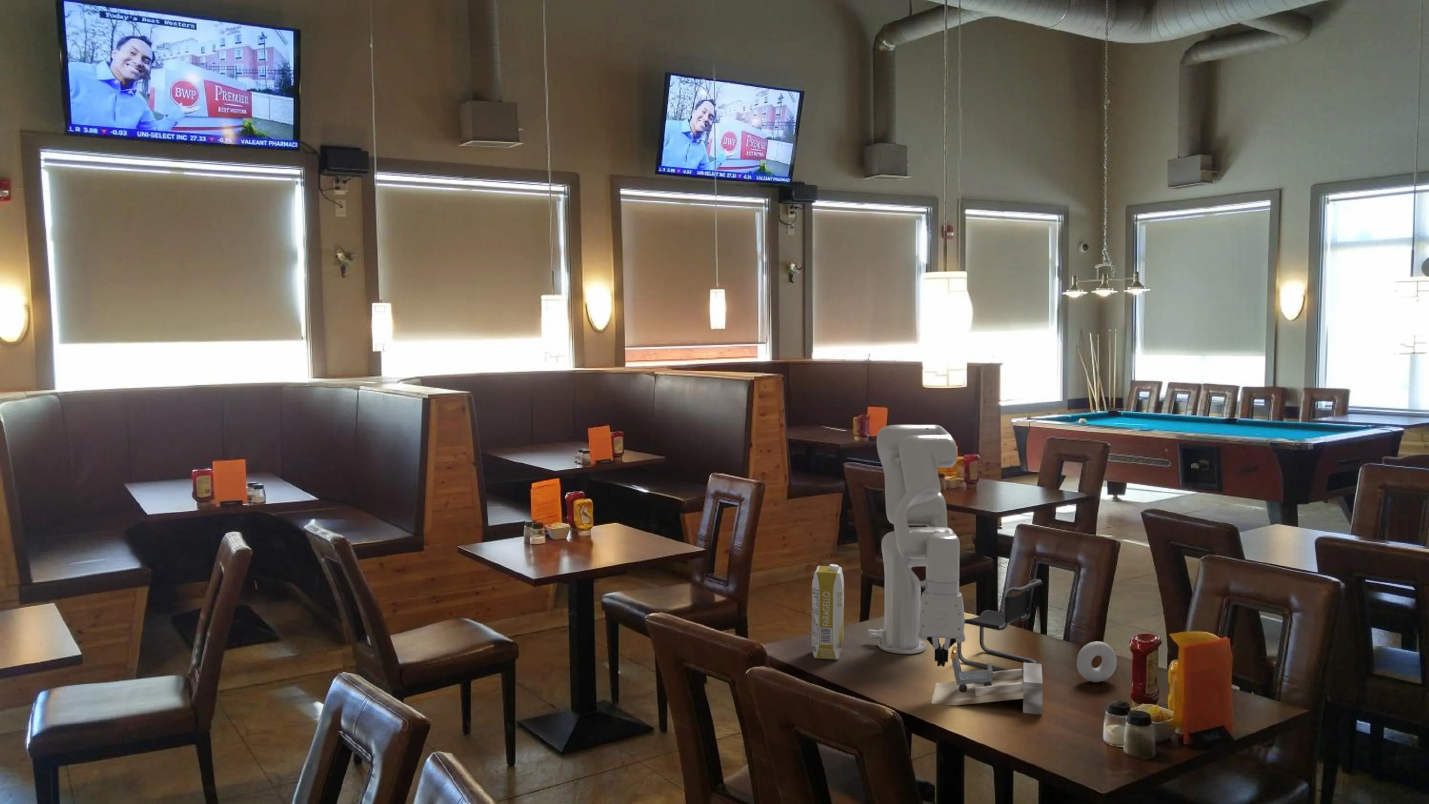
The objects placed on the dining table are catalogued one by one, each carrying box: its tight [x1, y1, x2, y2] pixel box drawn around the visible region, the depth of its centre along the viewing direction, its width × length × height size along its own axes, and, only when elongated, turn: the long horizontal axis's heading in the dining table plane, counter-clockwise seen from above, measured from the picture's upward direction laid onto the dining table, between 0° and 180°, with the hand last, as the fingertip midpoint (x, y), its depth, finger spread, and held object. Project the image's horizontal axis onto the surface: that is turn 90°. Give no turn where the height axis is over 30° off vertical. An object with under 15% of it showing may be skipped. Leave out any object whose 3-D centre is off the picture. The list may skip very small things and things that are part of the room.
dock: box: [930, 661, 1044, 716], centre depth 232 cm, size 24×14×8 cm, turn 73°
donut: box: [1076, 640, 1118, 683], centre depth 242 cm, size 10×4×10 cm, turn 99°
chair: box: [956, 578, 1043, 674], centre depth 256 cm, size 13×17×22 cm
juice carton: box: [811, 563, 845, 660], centre depth 263 cm, size 9×8×24 cm
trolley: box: [950, 645, 994, 692], centre depth 232 cm, size 9×7×9 cm
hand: (941, 664), depth 234 cm, fingers closed
